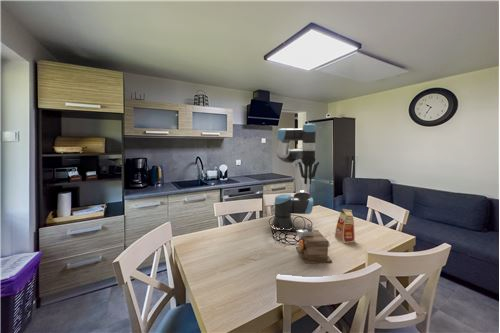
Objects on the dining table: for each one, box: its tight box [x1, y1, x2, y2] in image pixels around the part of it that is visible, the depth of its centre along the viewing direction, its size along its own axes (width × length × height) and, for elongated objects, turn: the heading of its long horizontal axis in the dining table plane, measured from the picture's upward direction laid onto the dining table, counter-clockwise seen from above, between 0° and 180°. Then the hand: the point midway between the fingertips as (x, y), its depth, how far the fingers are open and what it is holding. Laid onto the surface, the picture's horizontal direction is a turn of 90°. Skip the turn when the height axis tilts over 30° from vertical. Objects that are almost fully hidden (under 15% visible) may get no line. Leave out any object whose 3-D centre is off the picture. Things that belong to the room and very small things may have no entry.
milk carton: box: [334, 208, 356, 244], centre depth 136 cm, size 9×9×20 cm
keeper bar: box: [296, 223, 314, 238], centre depth 115 cm, size 3×8×6 cm, turn 94°
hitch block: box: [295, 229, 333, 265], centre depth 116 cm, size 16×14×11 cm
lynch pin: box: [298, 239, 331, 250], centre depth 116 cm, size 5×16×5 cm, turn 94°
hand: (307, 189), depth 132 cm, fingers closed
